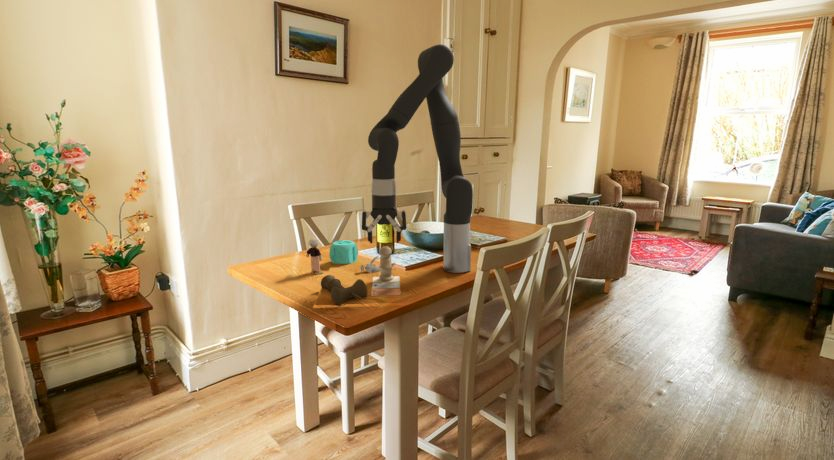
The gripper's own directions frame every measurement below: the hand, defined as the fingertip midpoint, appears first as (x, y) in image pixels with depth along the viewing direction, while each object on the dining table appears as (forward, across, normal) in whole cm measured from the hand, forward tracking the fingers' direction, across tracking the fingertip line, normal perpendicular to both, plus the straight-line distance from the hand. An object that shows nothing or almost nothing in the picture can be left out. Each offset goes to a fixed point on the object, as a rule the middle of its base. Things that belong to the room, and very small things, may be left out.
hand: (384, 242), depth 144 cm
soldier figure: (+14, +2, -9) cm, 17 cm away
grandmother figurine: (+14, +25, -12) cm, 31 cm away
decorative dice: (+14, +16, -23) cm, 31 cm away
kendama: (+14, +12, +14) cm, 23 cm away
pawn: (+12, 0, 0) cm, 12 cm away
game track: (+13, 0, +6) cm, 15 cm away
